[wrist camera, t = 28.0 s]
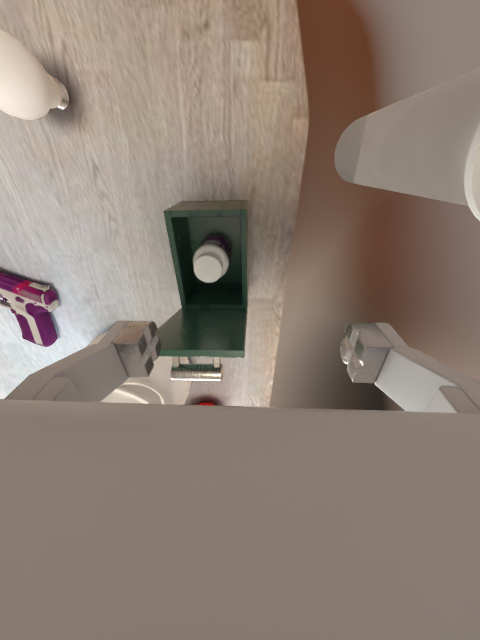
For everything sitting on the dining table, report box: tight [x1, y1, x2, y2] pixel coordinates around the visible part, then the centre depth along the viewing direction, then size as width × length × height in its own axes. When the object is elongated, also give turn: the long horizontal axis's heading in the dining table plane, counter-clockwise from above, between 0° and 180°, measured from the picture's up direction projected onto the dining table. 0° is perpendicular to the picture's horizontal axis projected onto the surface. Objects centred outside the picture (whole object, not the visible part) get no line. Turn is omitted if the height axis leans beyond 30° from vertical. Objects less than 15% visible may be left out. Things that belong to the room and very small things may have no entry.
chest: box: [164, 200, 248, 308], centre depth 37 cm, size 15×11×9 cm
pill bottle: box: [193, 234, 232, 283], centre depth 36 cm, size 5×5×10 cm
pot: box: [87, 332, 192, 405], centre depth 50 cm, size 26×24×17 cm
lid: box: [155, 308, 247, 381], centre depth 30 cm, size 15×11×5 cm
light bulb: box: [0, 30, 69, 120], centre depth 26 cm, size 7×7×11 cm
